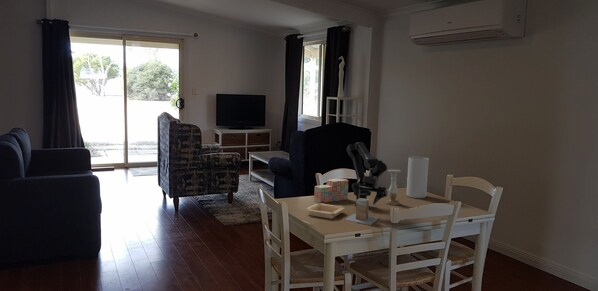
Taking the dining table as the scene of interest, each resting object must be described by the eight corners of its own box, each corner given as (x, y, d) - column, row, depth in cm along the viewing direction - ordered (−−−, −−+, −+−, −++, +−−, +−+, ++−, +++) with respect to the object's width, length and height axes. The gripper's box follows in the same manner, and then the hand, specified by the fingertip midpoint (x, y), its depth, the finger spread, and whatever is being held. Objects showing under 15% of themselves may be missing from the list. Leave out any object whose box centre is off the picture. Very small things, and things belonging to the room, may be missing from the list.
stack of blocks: (320, 203, 268) (320, 182, 266) (313, 201, 273) (314, 180, 271) (347, 199, 280) (348, 179, 278) (341, 197, 285) (342, 178, 283)
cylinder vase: (415, 193, 303) (417, 156, 300) (430, 197, 293) (432, 158, 290) (402, 195, 295) (404, 157, 292) (417, 199, 285) (420, 160, 282)
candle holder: (390, 205, 267) (392, 171, 265) (382, 202, 275) (384, 169, 273) (402, 204, 270) (404, 171, 268) (394, 201, 278) (396, 168, 276)
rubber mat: (353, 214, 245) (353, 213, 245) (379, 218, 239) (379, 217, 239) (344, 220, 232) (344, 219, 232) (370, 225, 226) (370, 224, 226)
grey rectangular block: (358, 216, 239) (359, 198, 238) (368, 218, 237) (369, 199, 235) (355, 218, 234) (356, 200, 233) (364, 220, 232) (365, 201, 231)
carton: (317, 208, 254) (317, 202, 254) (345, 213, 246) (346, 207, 246) (303, 215, 239) (303, 209, 238) (333, 221, 231) (334, 214, 231)
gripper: (353, 168, 246) (345, 191, 237) (387, 172, 237) (379, 196, 229) (358, 180, 254) (349, 203, 245) (390, 184, 245) (383, 208, 237)
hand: (365, 202), depth 239 cm, fingers open, 9 cm apart
